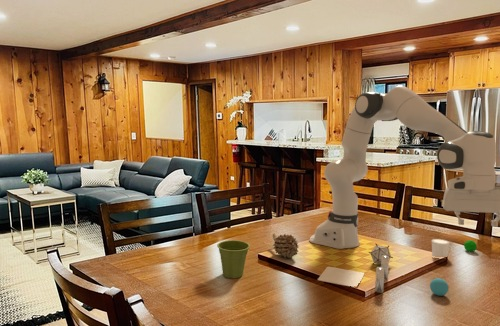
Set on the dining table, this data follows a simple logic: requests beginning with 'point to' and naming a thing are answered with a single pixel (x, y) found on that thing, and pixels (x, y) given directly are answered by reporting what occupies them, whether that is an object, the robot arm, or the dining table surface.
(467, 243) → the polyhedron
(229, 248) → the plant pot
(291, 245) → the pine cone
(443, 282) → the ball
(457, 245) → the dining table surface
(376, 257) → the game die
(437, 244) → the white cylinder
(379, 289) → the post
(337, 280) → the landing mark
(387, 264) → the post
